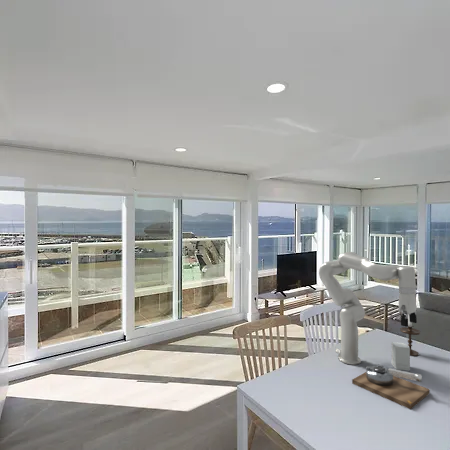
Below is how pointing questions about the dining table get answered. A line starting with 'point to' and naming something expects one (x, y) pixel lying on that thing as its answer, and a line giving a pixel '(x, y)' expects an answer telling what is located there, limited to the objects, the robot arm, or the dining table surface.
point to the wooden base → (395, 390)
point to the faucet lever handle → (388, 375)
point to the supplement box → (400, 356)
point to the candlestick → (410, 331)
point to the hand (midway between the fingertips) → (409, 324)
